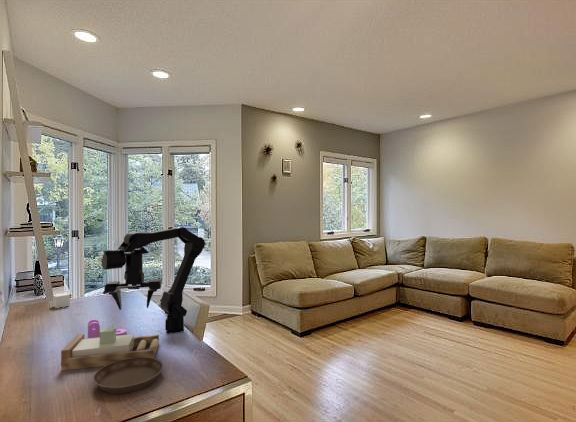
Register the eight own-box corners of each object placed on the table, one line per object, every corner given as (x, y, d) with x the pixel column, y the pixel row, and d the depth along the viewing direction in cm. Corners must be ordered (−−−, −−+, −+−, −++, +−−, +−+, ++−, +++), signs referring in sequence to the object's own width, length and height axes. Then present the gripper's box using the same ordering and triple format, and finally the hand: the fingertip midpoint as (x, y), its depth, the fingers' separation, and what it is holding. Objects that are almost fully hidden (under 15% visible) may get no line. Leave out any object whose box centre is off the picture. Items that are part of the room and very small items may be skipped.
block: (116, 338, 112) (116, 326, 113) (113, 343, 109) (113, 330, 109) (102, 340, 111) (102, 328, 112) (99, 344, 108) (99, 332, 108)
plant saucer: (174, 379, 95) (174, 368, 95) (109, 406, 82) (109, 393, 82) (144, 361, 107) (144, 352, 107) (83, 382, 93) (83, 372, 93)
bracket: (88, 342, 122) (88, 323, 122) (87, 338, 127) (87, 319, 127) (127, 335, 129) (127, 317, 129) (125, 331, 134) (125, 314, 134)
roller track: (159, 343, 121) (159, 326, 121) (154, 360, 107) (154, 341, 107) (77, 351, 114) (77, 334, 114) (61, 370, 100) (61, 350, 100)
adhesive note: (52, 306, 171) (52, 294, 171) (66, 304, 175) (66, 292, 176) (55, 308, 167) (56, 296, 167) (69, 306, 171) (69, 294, 171)
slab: (133, 341, 117) (133, 334, 117) (128, 352, 107) (128, 344, 107) (82, 346, 112) (82, 339, 112) (72, 358, 103) (72, 350, 103)
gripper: (163, 262, 134) (163, 301, 133) (111, 264, 129) (111, 305, 129) (160, 266, 123) (160, 309, 123) (103, 269, 118) (103, 313, 118)
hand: (134, 308), depth 123 cm, fingers open, 9 cm apart
